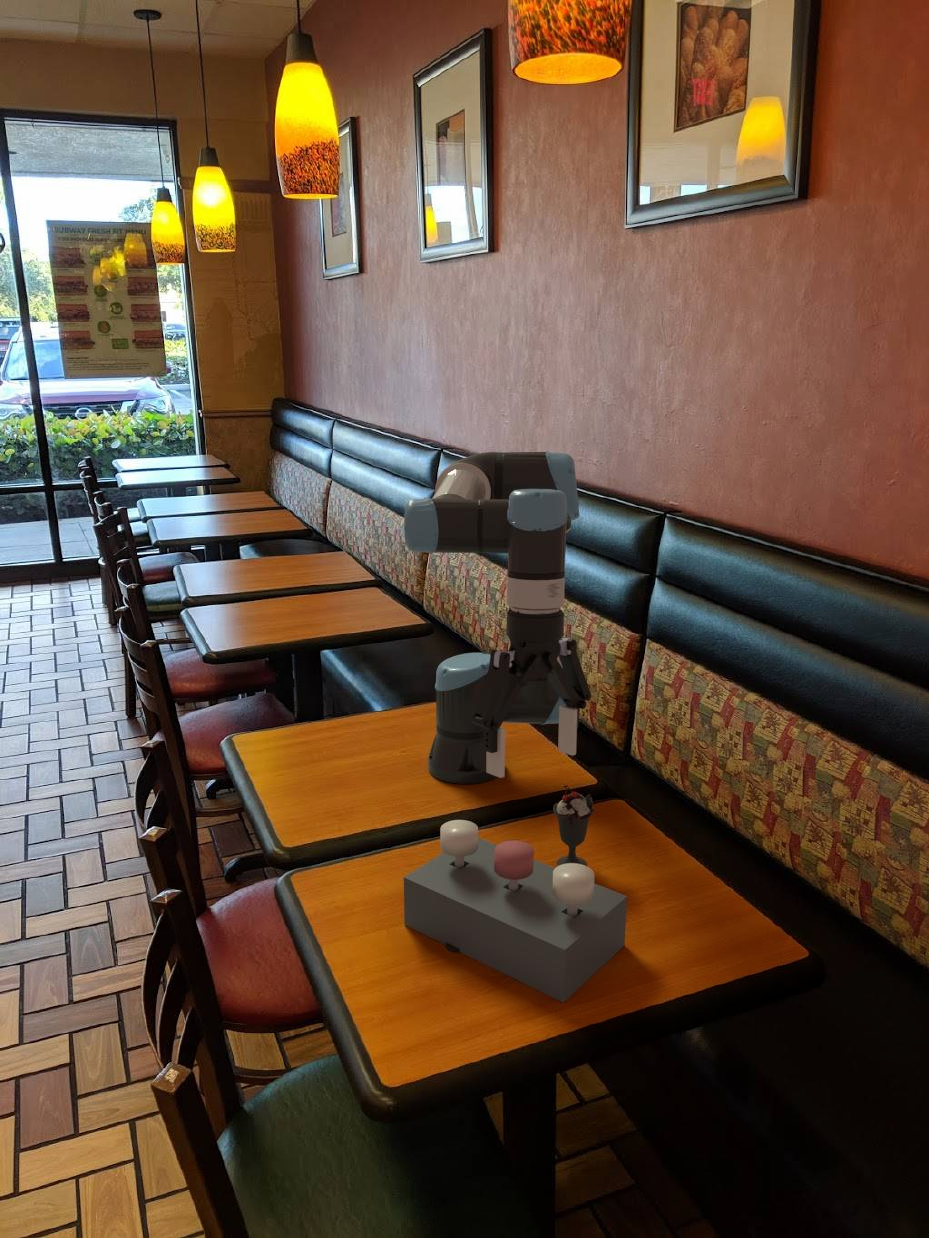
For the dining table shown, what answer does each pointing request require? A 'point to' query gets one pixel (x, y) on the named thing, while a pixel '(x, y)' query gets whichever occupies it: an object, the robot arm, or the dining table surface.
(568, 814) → the sundae
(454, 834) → the cream knob
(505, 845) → the pink knob
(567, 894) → the cream knob
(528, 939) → the control box
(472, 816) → the dining table surface
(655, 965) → the dining table surface
